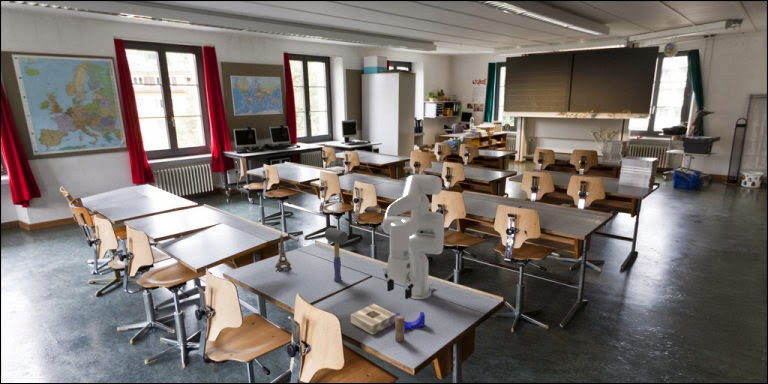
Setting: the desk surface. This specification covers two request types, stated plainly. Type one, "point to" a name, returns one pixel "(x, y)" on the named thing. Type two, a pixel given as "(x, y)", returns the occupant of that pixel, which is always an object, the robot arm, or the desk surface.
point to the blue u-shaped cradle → (414, 322)
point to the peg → (399, 329)
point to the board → (373, 319)
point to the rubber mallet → (336, 248)
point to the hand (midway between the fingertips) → (399, 294)
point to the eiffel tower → (282, 261)
